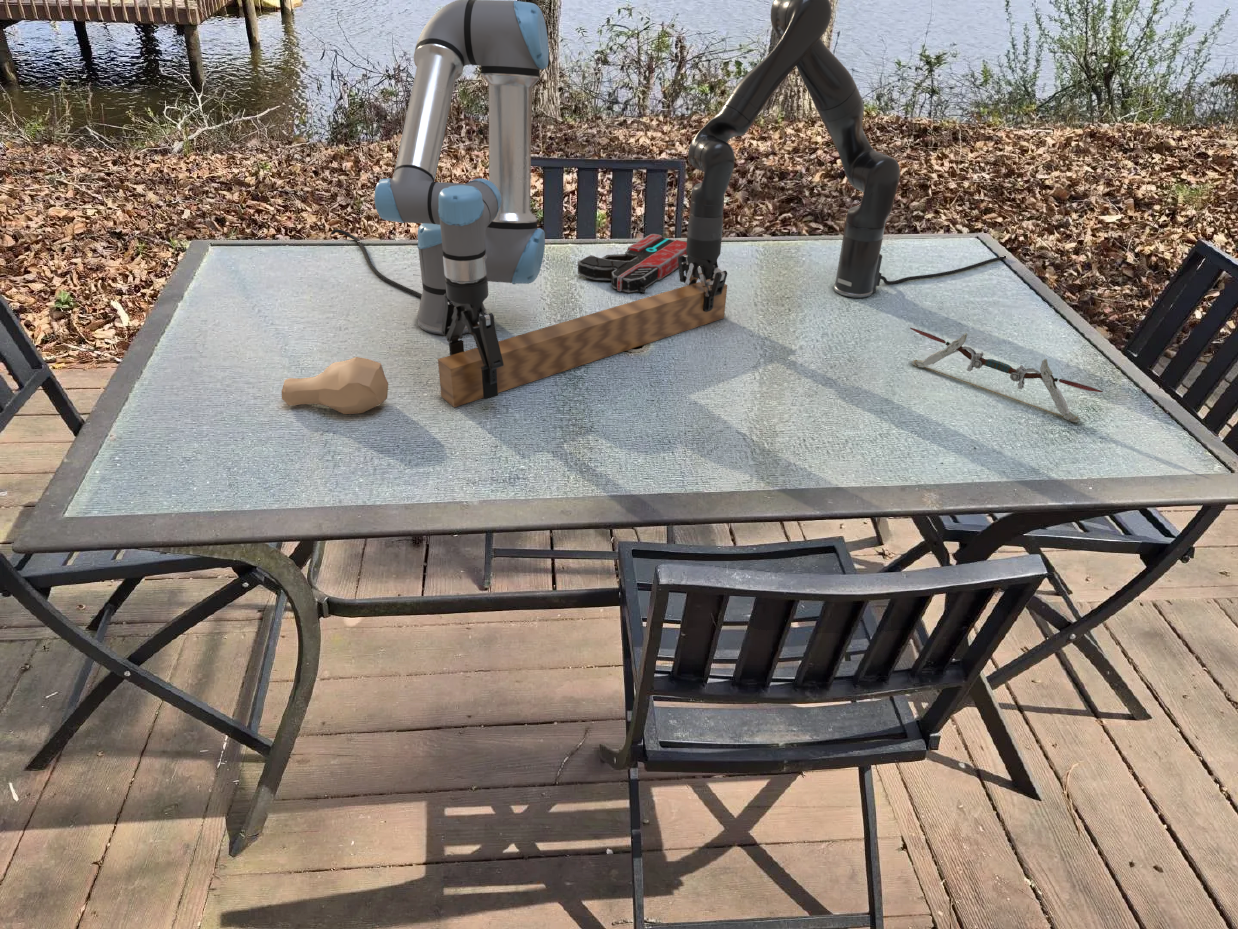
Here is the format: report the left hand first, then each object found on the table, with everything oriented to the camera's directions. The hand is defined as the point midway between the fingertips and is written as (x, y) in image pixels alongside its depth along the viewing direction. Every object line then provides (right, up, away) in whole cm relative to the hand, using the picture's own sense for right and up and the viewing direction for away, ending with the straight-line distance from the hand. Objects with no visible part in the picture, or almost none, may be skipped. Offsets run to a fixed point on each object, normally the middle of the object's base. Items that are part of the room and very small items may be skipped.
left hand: (474, 384), depth 169 cm
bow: (+102, -1, +7) cm, 103 cm away
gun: (+33, +35, +57) cm, 74 cm away
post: (+23, +8, +16) cm, 29 cm away
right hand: (+46, +20, +30) cm, 59 cm away
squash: (-25, -4, -4) cm, 26 cm away
